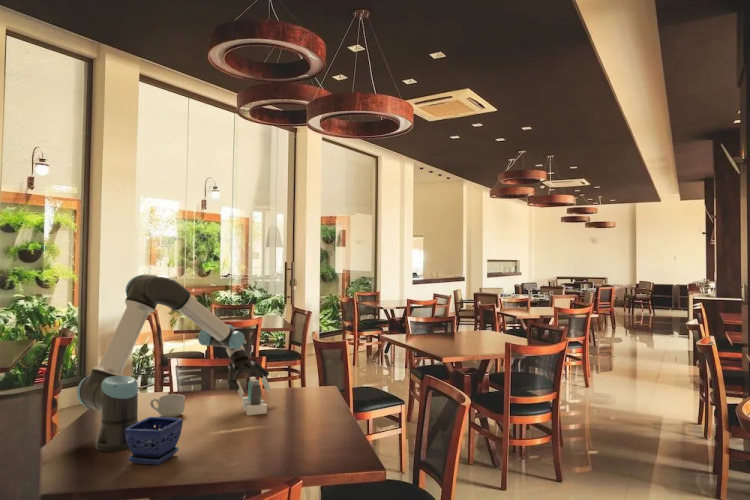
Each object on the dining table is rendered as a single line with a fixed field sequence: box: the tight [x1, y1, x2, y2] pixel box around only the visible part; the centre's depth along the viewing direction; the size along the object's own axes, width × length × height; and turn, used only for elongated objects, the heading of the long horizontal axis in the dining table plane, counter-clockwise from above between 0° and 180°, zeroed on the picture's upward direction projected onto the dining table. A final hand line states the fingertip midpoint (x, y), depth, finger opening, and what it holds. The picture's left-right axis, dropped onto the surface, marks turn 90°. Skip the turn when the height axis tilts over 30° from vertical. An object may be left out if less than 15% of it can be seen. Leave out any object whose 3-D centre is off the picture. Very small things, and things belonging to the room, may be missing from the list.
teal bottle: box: [247, 376, 257, 401], centre depth 230 cm, size 4×4×13 cm
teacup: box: [149, 393, 186, 418], centre depth 220 cm, size 14×11×8 cm
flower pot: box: [125, 416, 184, 466], centre depth 172 cm, size 13×13×12 cm
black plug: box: [251, 379, 262, 405], centre depth 223 cm, size 4×4×13 cm
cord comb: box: [241, 396, 268, 416], centre depth 226 cm, size 16×8×4 cm, turn 22°
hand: (256, 392), depth 228 cm, fingers open, 13 cm apart
